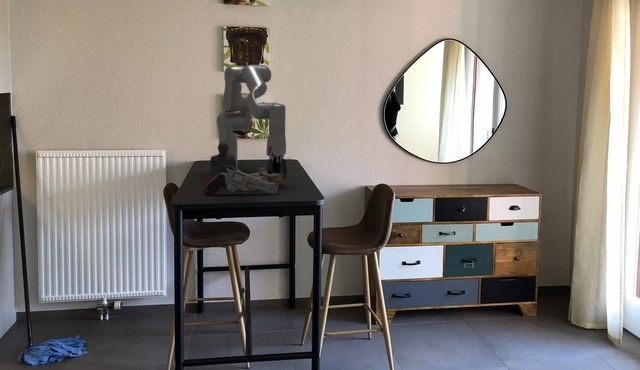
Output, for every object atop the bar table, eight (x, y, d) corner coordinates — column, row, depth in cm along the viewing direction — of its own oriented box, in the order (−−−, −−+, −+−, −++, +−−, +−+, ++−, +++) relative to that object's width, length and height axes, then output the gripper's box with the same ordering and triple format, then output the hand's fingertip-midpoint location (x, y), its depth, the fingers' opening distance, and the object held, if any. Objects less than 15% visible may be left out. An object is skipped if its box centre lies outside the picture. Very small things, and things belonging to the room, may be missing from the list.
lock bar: (258, 173, 325) (258, 160, 324) (264, 173, 326) (264, 160, 325) (267, 177, 311) (267, 164, 310) (274, 177, 313) (274, 164, 312)
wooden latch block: (224, 188, 310) (224, 177, 309) (258, 181, 332) (258, 171, 332) (249, 191, 303) (249, 180, 302) (282, 183, 325) (282, 173, 324)
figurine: (209, 185, 318) (208, 142, 315) (211, 183, 325) (210, 141, 322) (235, 185, 318) (235, 142, 315) (237, 183, 326) (236, 141, 323)
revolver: (203, 191, 295) (216, 159, 293) (267, 215, 299) (279, 184, 297) (203, 192, 291) (215, 160, 289) (267, 217, 295) (280, 185, 294)
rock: (274, 179, 340) (274, 158, 339) (266, 178, 344) (266, 157, 342) (288, 177, 348) (288, 156, 347) (280, 176, 351) (280, 156, 350)
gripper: (279, 129, 320) (278, 168, 324) (260, 131, 308) (260, 172, 311) (292, 130, 317) (292, 169, 320) (274, 133, 304) (274, 173, 307)
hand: (276, 170), depth 315 cm, fingers closed
